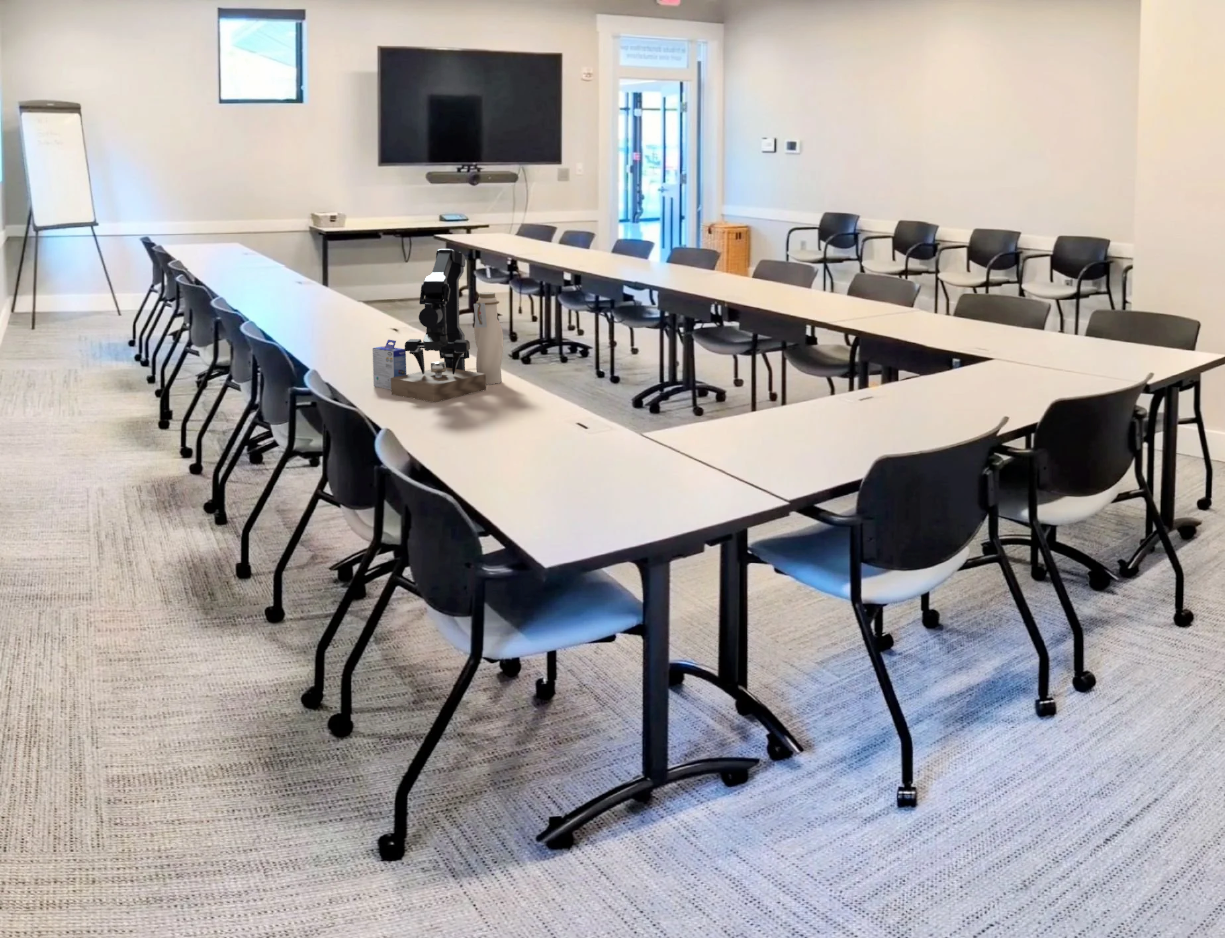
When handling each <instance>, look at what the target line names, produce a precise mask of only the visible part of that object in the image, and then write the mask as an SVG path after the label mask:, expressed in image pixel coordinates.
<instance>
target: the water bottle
mask: <svg viewBox="0 0 1225 938" xmlns="http://www.w3.org/2000/svg"><path fill="white" fill-rule="evenodd" d="M477 299H478V300H477V301H476V302H475V303H473V309H474V326H473V330H474V331H473V332H474V333H473V334H474V340H475V345H476V348H477V349H476V360H475V361H476V362H475V363H476V364H475V368H476V372H477V373H483V374H486V385H496V384H495V383H498V384H500V383H499V382H501V383H502V381H503V380H502V368H501V367H502V360H503V356H504V355H503V353H504V332H503V327H502V325H501V322H500V321H499V320H498V304H500V301H499V300H497V297H496V292H493V291H490V292H489V291H484V292H482V291H481V292H479V296H478V298H477Z"/></svg>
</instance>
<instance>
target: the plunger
mask: <svg viewBox="0 0 1225 938" xmlns="http://www.w3.org/2000/svg"><path fill="white" fill-rule="evenodd" d="M430 370H431V372H434V373H435V377H437V378H440V377H442V372H446V363H445V362H444V361H440V360H439V361H438V360H437V361H431V362H430Z"/></svg>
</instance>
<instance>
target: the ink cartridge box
mask: <svg viewBox="0 0 1225 938" xmlns="http://www.w3.org/2000/svg"><path fill="white" fill-rule="evenodd" d="M389 343H392V344H389ZM396 343H397V340H393V339H387V341H386V344H385V346H377V347H373V348H372V373H373V374H372V376H373V379H372V380H373V387H375V388H376V387H377V388H383V389H386V390H391V378H393V377H398V376H403V375H407V353H406V352H407V351H405V348H401V347H395V345H396Z"/></svg>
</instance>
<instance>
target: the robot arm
mask: <svg viewBox="0 0 1225 938" xmlns="http://www.w3.org/2000/svg"><path fill="white" fill-rule="evenodd" d="M465 267H466V256H465V255H464V253H462V252H461V251H456V250H454V249H452V248H439V249H437V250H436V253H435V261H434V266H433V269H432V271H431V274H429V275H427V276H425V278H424V280H423V283H422V284H421V288H420V295H419V305H424V308H423V309H421V310H420V312H419V315H418V321H419V323H420V324H421V325H422V326H423V327H425V328H426V332H425V335H424V338H423V341H422V339H421V338H409V339H408V340H406V341H405V343H404V349H405V351H406V352H408V353H409V354H410V355H413V356H414V358H415V359H416V361H417V363H418V366H419V369H420V372H422V374H424V372H425V371H426V370H425V357H424V351H425V352H430V351H434V352H439V359H441V360H442V359H443V362H445V363H446V368H452V372H453V374H455V371H456V369H459V370H465V371H466V361H465V360H466V359H470V350H471V343H470V341H469V340H468V339H465V333H464V331H463V330H462V328H461V327H460V285H459V284H460V279H461V277H462V276H463V274H464V271H465V270H464V269H465Z"/></svg>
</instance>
